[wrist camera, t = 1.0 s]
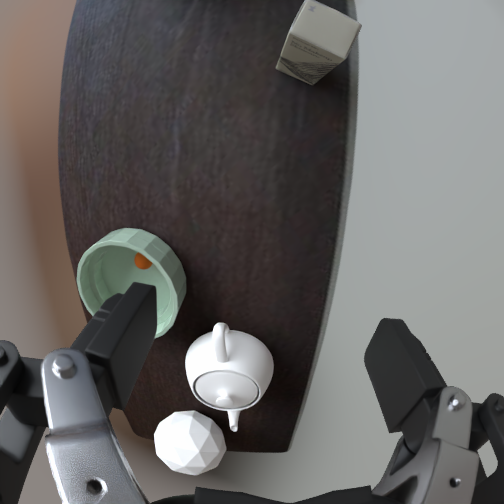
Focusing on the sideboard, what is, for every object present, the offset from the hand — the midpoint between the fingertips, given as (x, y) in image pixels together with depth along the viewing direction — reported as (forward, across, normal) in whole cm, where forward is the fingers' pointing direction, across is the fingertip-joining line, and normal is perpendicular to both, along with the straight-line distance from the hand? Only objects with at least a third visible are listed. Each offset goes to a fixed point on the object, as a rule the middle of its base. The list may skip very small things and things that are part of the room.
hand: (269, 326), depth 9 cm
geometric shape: (+26, +6, +49) cm, 56 cm away
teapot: (+26, 0, +28) cm, 38 cm away
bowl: (+26, +16, +15) cm, 34 cm away
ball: (+24, +14, +11) cm, 30 cm away
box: (+27, -2, -16) cm, 31 cm away
